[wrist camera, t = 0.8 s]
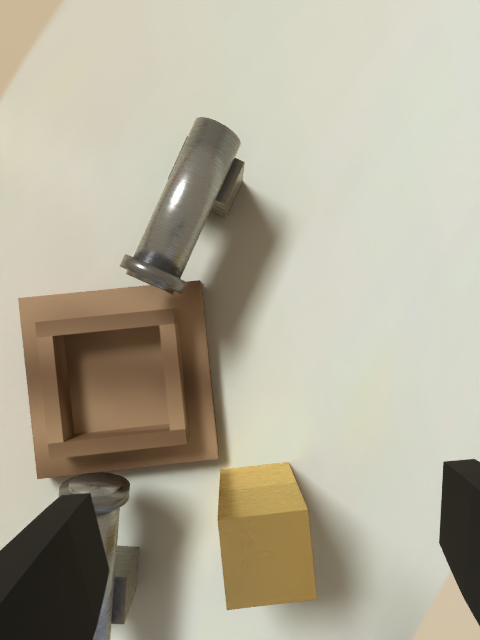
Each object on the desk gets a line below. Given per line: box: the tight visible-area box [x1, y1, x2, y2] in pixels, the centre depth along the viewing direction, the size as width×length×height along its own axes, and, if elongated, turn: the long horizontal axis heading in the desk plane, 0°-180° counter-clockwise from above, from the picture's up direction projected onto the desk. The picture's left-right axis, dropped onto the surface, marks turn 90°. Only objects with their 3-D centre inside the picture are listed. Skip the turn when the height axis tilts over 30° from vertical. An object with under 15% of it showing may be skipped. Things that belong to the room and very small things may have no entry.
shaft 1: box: [59, 472, 139, 640], centre depth 21 cm, size 8×3×6 cm, turn 176°
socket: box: [18, 280, 219, 479], centre depth 23 cm, size 10×10×2 cm
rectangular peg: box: [218, 462, 317, 610], centre depth 21 cm, size 4×4×6 cm
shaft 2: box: [120, 117, 244, 294], centre depth 21 cm, size 8×3×6 cm, turn 156°
